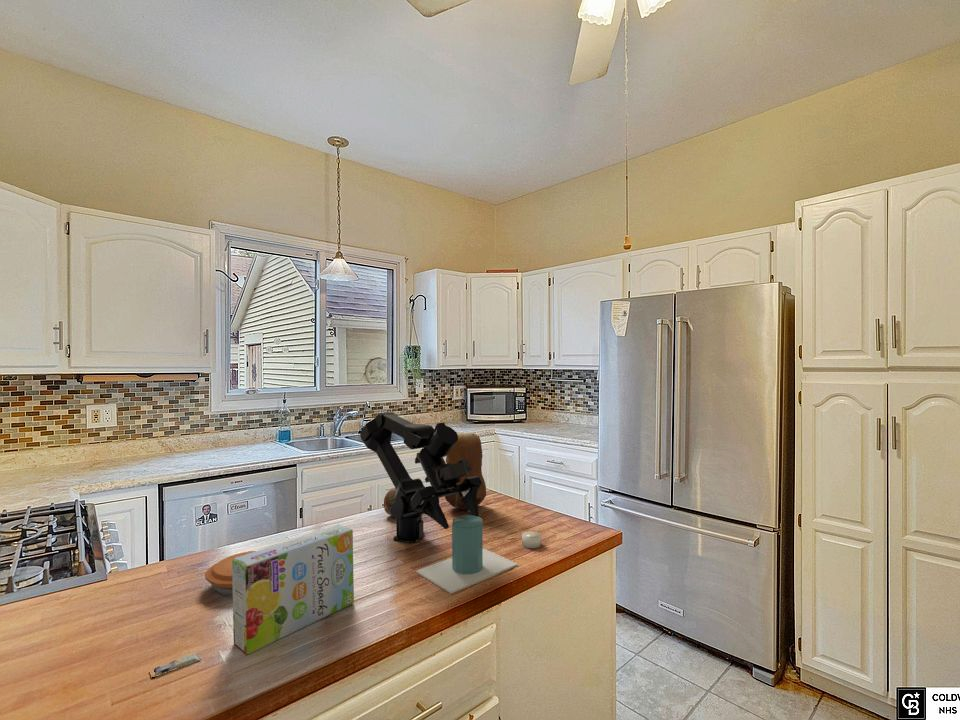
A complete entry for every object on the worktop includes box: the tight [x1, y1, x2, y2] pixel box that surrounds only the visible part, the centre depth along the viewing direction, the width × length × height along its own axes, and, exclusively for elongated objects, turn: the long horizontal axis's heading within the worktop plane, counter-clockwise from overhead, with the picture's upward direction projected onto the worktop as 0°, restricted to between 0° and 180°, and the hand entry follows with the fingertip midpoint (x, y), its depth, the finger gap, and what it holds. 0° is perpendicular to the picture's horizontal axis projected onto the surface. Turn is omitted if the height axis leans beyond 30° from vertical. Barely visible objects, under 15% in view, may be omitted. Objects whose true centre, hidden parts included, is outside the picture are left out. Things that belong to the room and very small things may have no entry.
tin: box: [383, 487, 396, 516], centre depth 149 cm, size 15×3×8 cm, turn 143°
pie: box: [204, 550, 256, 597], centre depth 102 cm, size 15×16×5 cm
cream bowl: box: [521, 531, 542, 549], centre depth 123 cm, size 5×5×3 cm
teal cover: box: [451, 514, 484, 574], centre depth 109 cm, size 7×7×11 cm
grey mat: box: [415, 547, 519, 595], centre depth 109 cm, size 20×13×1 cm, turn 132°
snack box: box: [232, 524, 355, 655], centre depth 87 cm, size 21×6×15 cm, turn 141°
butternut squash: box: [444, 431, 487, 511], centre depth 152 cm, size 14×13×25 cm
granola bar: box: [153, 653, 201, 676], centre depth 74 cm, size 7×2×1 cm, turn 132°
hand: (462, 523), depth 110 cm, fingers open, 9 cm apart
